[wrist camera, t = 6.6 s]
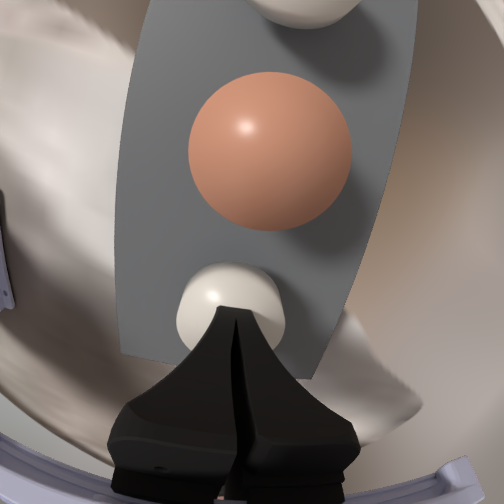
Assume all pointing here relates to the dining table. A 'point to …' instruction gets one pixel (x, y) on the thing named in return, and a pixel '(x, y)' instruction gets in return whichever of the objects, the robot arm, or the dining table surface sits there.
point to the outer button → (303, 11)
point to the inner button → (229, 300)
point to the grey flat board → (196, 207)
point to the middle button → (270, 151)
